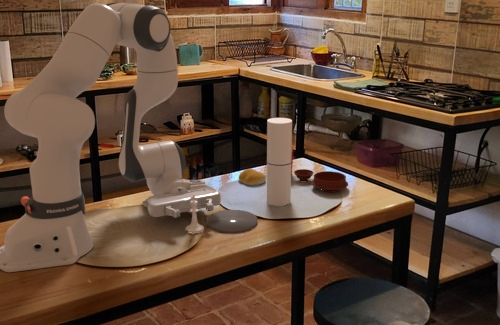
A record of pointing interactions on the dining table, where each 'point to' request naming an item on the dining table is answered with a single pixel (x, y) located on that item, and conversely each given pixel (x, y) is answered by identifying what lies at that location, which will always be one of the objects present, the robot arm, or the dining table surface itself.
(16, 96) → the robot arm
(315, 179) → the pottery
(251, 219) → the charcoal plate
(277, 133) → the cylindrical container
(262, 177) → the bread roll
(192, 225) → the chess piece
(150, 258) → the dining table surface
